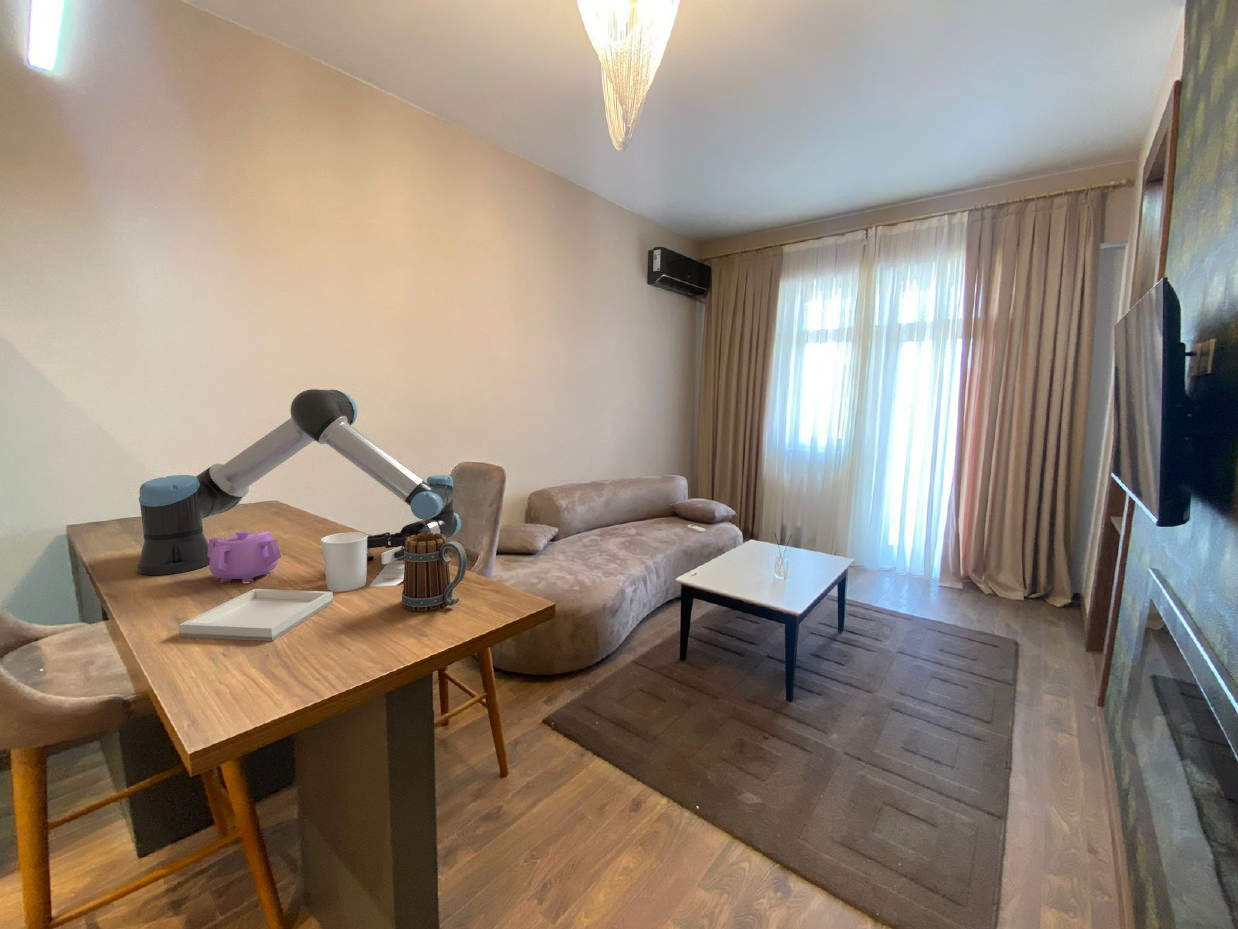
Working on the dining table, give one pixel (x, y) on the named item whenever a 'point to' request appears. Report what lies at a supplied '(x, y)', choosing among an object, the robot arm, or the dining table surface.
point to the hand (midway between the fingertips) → (360, 555)
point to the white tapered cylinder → (345, 561)
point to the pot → (243, 556)
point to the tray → (257, 615)
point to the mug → (430, 572)
